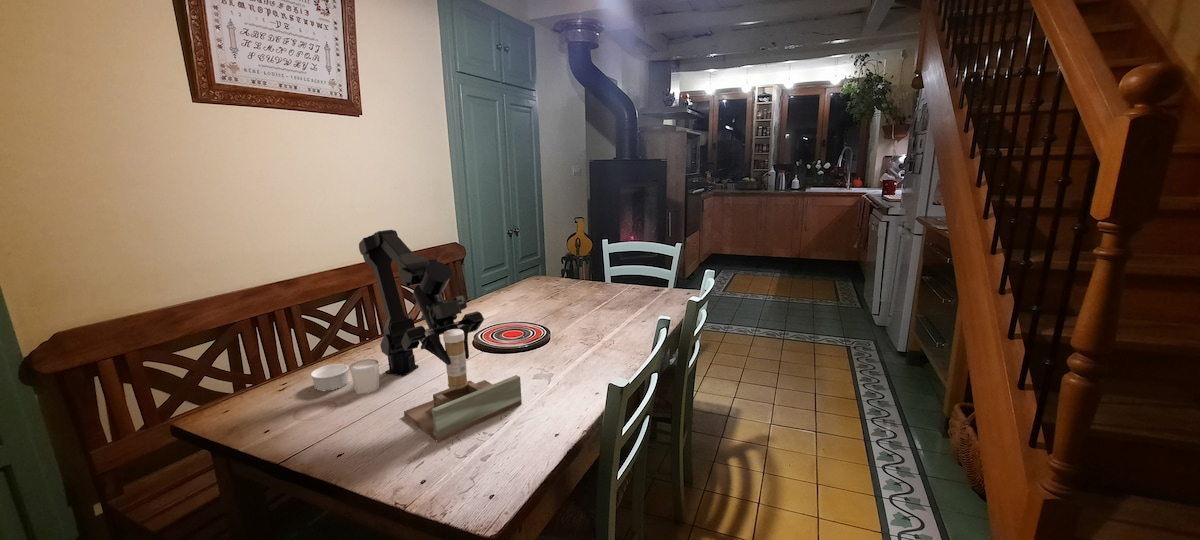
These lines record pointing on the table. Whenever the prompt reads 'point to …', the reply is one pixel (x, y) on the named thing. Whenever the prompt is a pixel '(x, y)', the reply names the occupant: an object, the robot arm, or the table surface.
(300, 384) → the table surface
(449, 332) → the sprinkles bottle
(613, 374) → the table surface
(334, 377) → the ramekin
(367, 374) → the shot glass
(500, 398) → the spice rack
